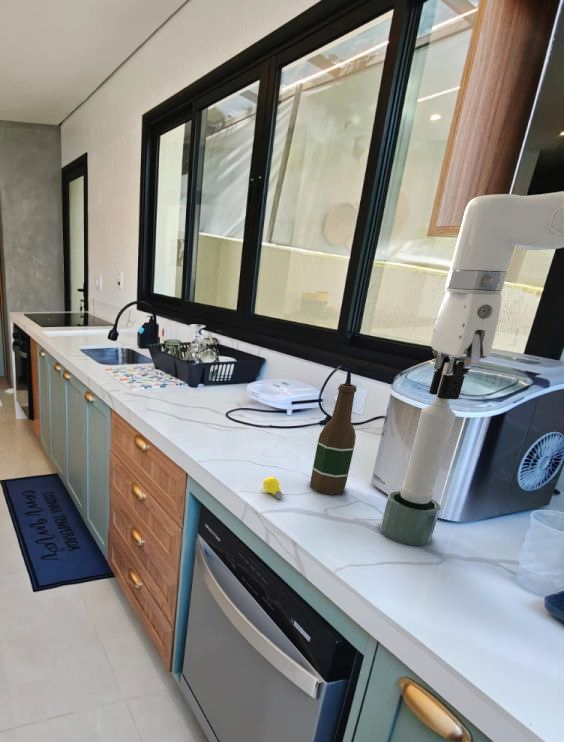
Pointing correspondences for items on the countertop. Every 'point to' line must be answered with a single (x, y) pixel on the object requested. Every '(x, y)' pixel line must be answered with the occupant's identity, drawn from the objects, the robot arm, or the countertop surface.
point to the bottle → (428, 449)
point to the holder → (409, 520)
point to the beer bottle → (335, 446)
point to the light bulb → (272, 486)
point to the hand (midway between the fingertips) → (443, 395)
